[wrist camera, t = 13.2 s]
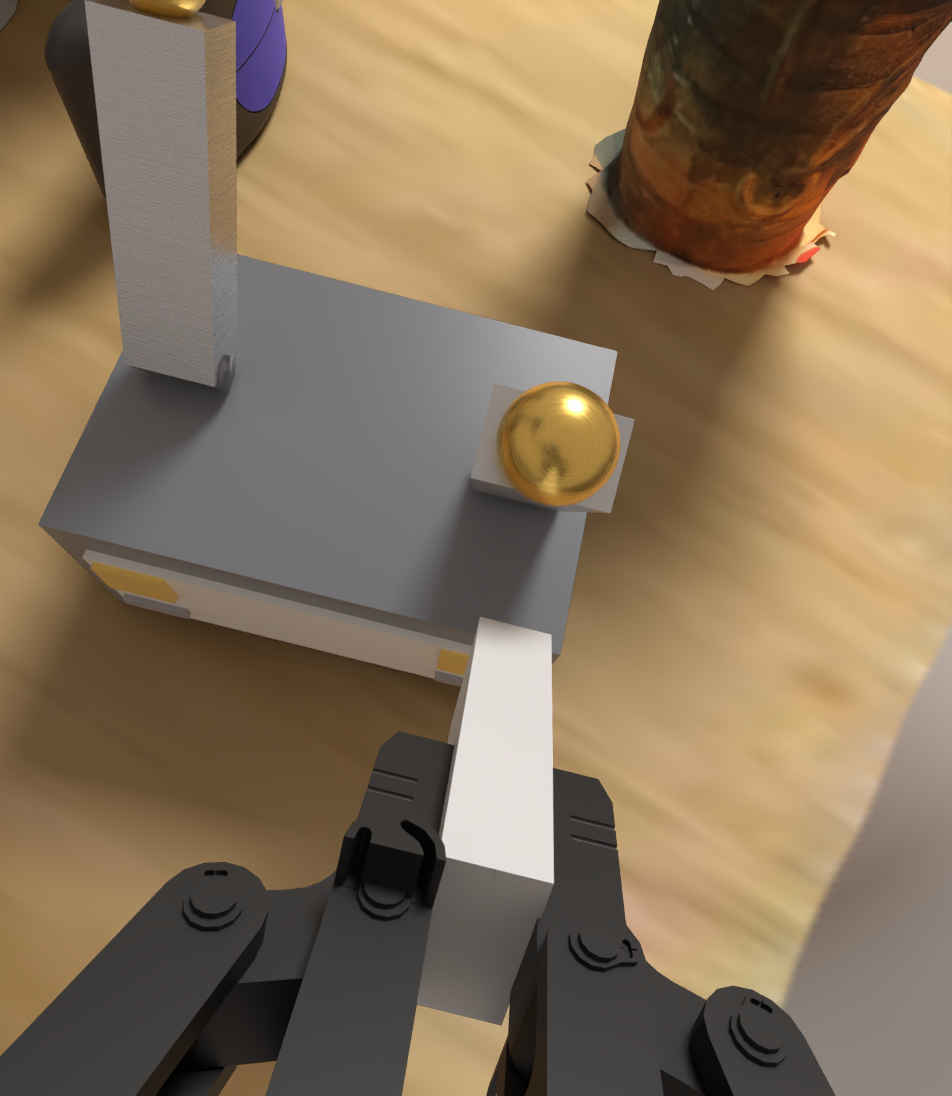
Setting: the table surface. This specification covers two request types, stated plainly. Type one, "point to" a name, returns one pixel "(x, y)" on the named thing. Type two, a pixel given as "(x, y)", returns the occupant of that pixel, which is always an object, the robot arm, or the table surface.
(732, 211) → the vessel
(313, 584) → the console
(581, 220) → the table surface
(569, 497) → the lever
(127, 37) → the lever
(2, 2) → the lava lamp
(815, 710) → the table surface
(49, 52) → the dark grey curved slab
